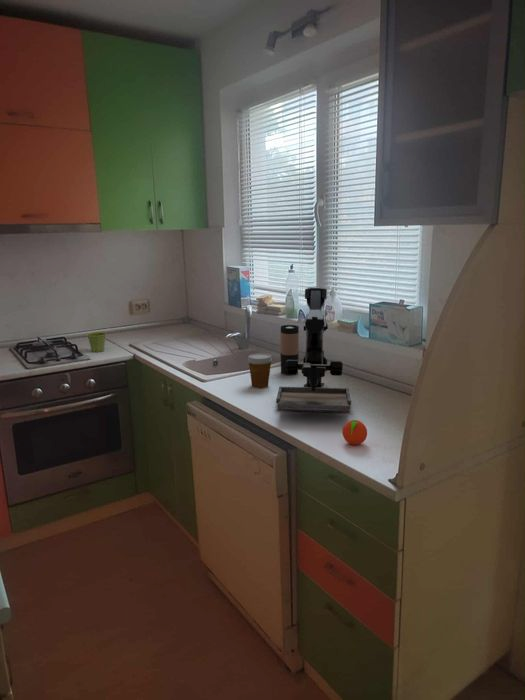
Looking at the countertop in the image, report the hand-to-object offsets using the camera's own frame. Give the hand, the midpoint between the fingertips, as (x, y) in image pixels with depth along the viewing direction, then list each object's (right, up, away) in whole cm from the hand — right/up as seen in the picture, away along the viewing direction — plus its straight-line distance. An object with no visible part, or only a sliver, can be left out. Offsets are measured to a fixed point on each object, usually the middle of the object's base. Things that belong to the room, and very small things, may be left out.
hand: (313, 390), depth 168 cm
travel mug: (-5, +3, +51) cm, 52 cm away
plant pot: (-100, +13, +93) cm, 137 cm away
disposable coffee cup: (-18, -1, +33) cm, 38 cm away
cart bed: (+1, -6, +12) cm, 13 cm away
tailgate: (0, -5, +4) cm, 7 cm away
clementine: (+9, -14, -22) cm, 27 cm away
